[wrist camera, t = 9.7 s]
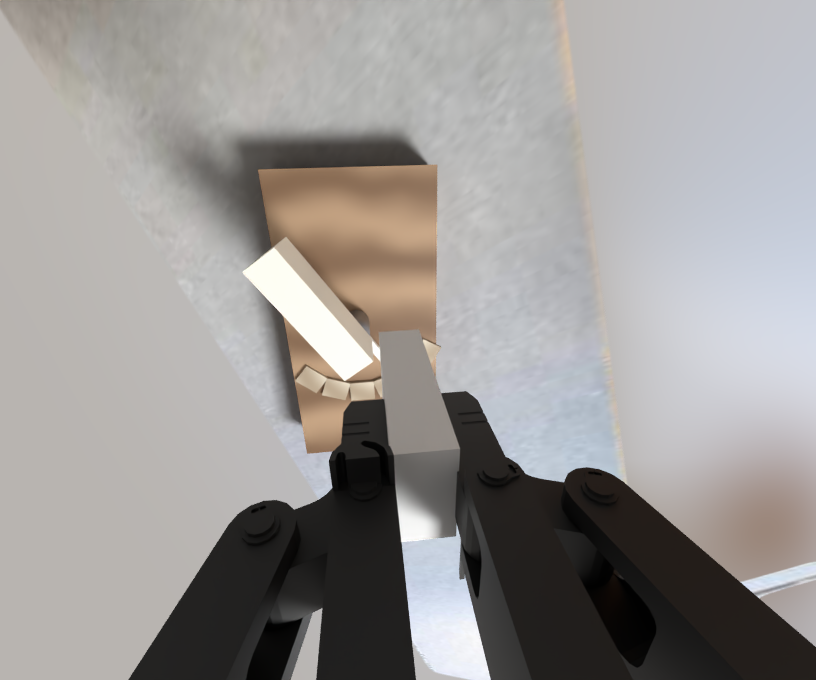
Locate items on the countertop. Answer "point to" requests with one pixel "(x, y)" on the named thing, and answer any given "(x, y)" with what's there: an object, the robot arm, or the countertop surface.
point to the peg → (314, 309)
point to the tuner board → (357, 269)
